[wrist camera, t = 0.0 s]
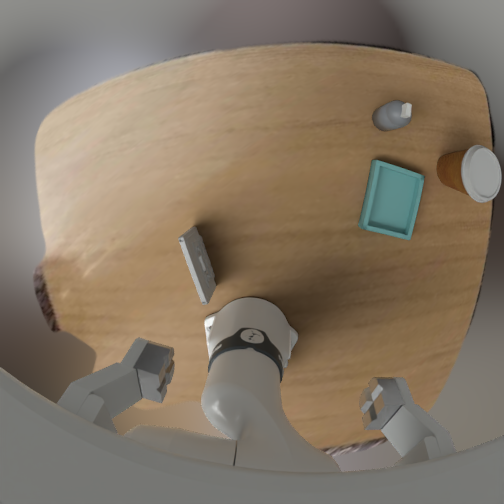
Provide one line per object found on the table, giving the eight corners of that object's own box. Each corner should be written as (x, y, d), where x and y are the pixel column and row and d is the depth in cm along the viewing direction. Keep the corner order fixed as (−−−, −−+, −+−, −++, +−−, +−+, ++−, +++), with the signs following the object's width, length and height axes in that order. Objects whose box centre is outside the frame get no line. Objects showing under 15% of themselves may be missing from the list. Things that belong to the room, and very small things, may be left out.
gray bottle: (392, 134, 41) (419, 128, 31) (370, 127, 41) (394, 118, 31) (395, 112, 40) (422, 101, 30) (373, 104, 40) (397, 91, 30)
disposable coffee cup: (422, 173, 42) (459, 177, 31) (442, 136, 40) (480, 132, 28) (452, 203, 43) (489, 215, 32) (471, 167, 41) (508, 172, 29)
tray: (404, 237, 46) (410, 240, 44) (358, 225, 46) (362, 228, 44) (418, 175, 43) (424, 176, 40) (371, 160, 43) (376, 159, 41)
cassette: (219, 285, 52) (210, 304, 45) (210, 287, 52) (200, 306, 45) (198, 224, 49) (185, 235, 41) (189, 227, 49) (174, 238, 42)
